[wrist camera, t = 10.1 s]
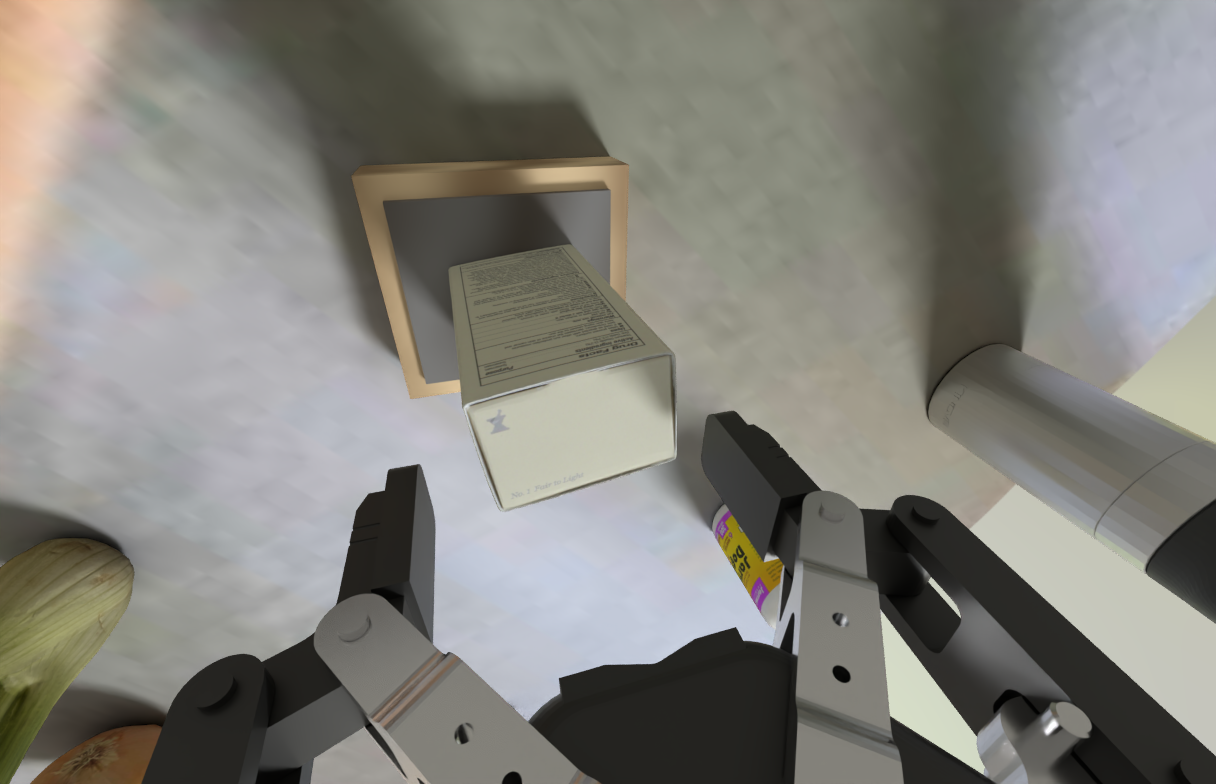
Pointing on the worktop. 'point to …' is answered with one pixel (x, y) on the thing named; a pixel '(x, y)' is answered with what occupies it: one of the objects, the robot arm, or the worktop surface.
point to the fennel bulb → (52, 630)
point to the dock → (479, 238)
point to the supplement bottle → (749, 565)
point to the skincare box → (558, 376)
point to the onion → (105, 758)
